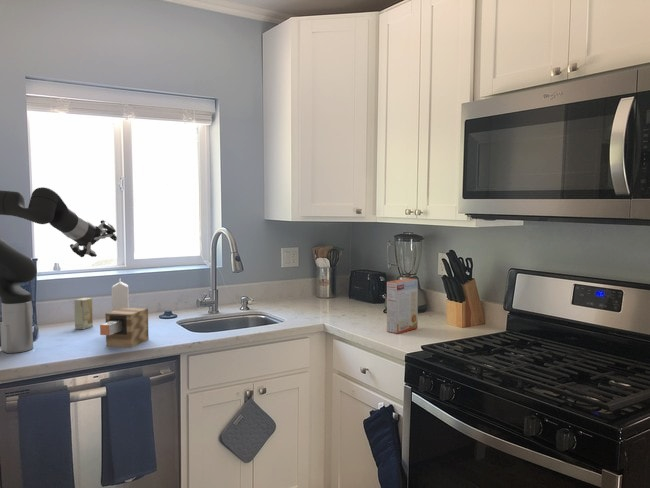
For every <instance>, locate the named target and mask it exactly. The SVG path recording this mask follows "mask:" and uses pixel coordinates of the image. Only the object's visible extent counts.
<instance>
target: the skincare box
mask: <svg viewBox="0 0 650 488" xmlns="http://www.w3.org/2000/svg"><path fill="white" fill-rule="evenodd" d="M93 320H94V319H93V298H92V297H82V298H77V299H74V329H75V330H76V329H77V330H85V329H88V328H92V327H93V326H94V325H93V324H94V323H93Z"/></svg>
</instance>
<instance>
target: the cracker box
mask: <svg viewBox="0 0 650 488" xmlns="http://www.w3.org/2000/svg"><path fill="white" fill-rule="evenodd" d="M418 281H419V280H418V279H417V278H411V277H408V278H407V277H406V278H401V279H395V280H390V281H386V332H387V331H388V332H387V333H391V332H392V333H391V334H396V333H397V334H398V333H399V334H402V333H405V332H408V331H412V330H416V329H418V326H419V325H418V324H419V323H418V320H419V319H418V317H419V316H418V315H419V313H418V312H419V311H418V310H419V309H418V308H419V306H418V305H419V304H418V299H419V298H418V297H419V296H418V295H419V291H418V285H419V283H418Z"/></svg>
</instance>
